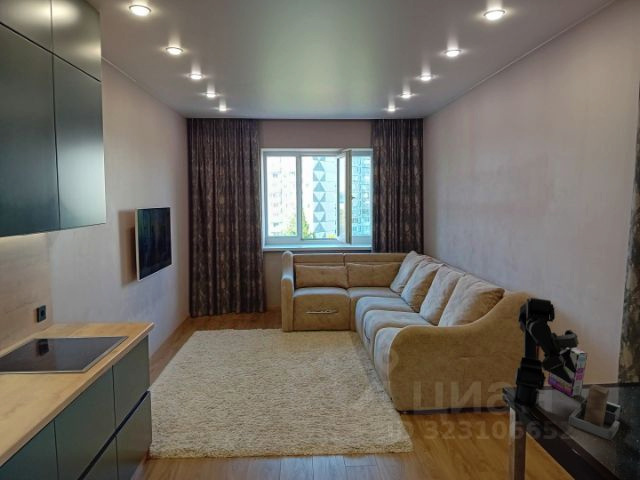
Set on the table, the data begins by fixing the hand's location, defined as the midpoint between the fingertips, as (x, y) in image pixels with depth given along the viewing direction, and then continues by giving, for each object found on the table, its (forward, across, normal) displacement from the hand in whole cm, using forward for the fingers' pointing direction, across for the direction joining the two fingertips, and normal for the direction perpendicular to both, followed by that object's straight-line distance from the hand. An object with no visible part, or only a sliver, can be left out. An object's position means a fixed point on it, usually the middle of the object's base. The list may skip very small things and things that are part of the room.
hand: (573, 377), depth 151 cm
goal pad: (+17, +17, +4) cm, 24 cm away
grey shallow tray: (+15, -1, +4) cm, 16 cm away
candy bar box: (+8, +23, +14) cm, 28 cm away
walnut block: (+15, -1, +4) cm, 16 cm away
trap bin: (+16, +8, +4) cm, 19 cm away
